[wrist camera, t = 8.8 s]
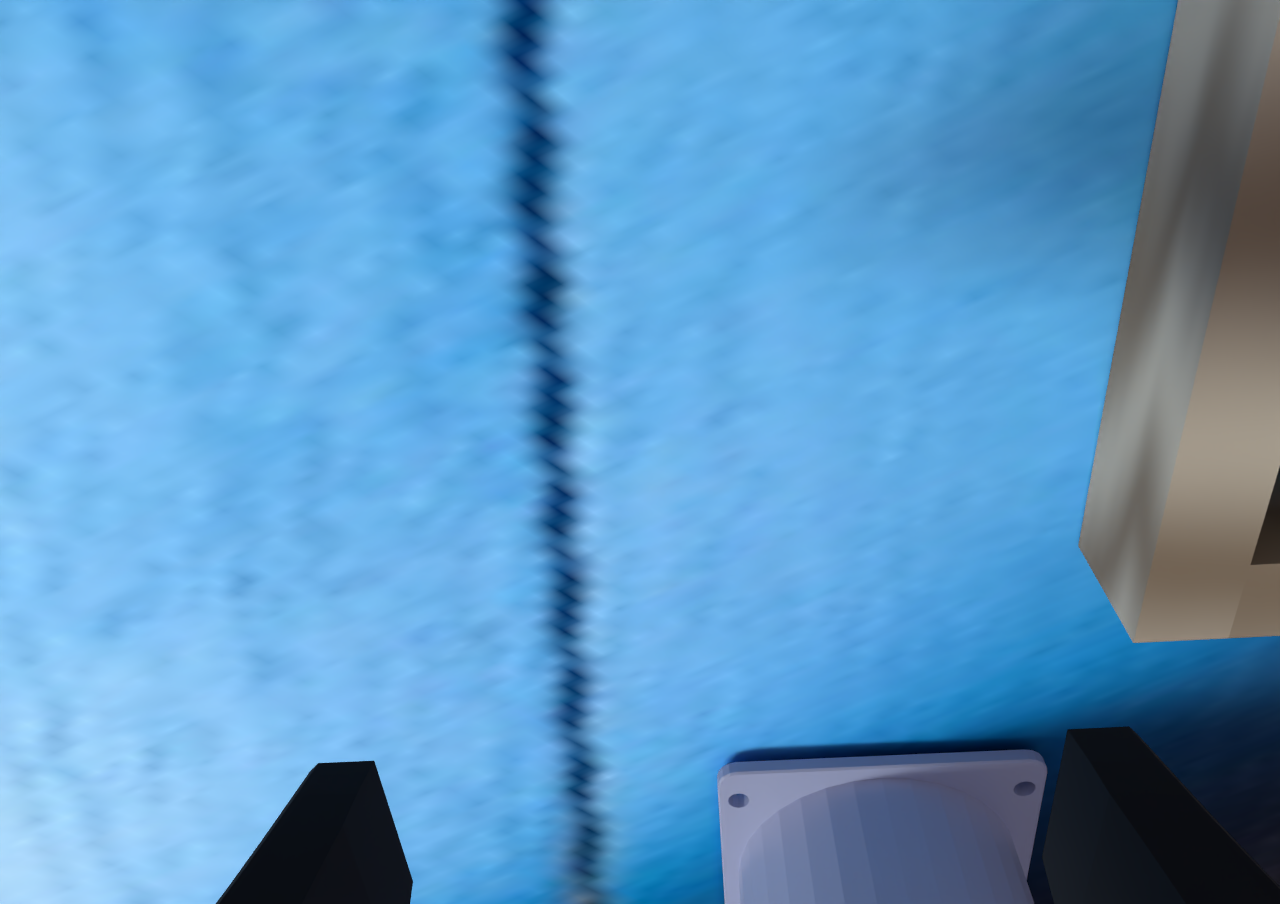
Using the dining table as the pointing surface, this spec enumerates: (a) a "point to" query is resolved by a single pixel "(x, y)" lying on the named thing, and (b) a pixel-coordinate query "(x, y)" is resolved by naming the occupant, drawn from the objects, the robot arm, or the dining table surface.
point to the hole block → (1199, 350)
